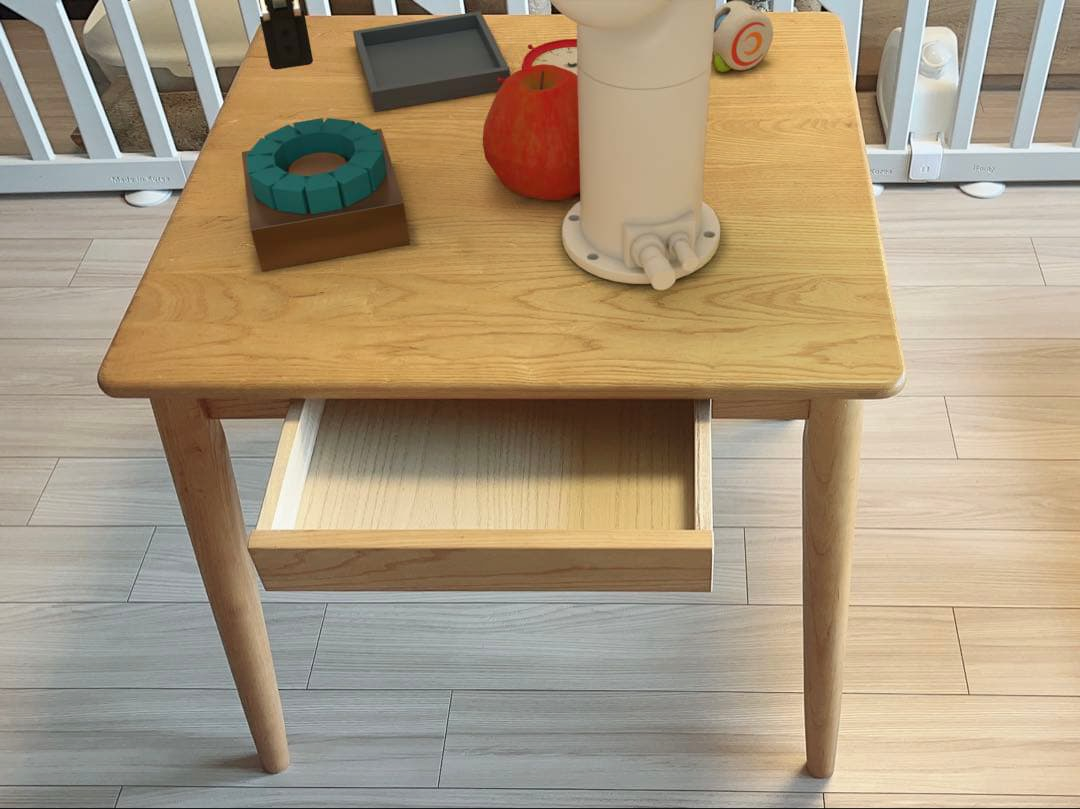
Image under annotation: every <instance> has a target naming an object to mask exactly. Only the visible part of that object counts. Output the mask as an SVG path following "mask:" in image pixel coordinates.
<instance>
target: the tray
mask: <svg viewBox="0 0 1080 809" xmlns="http://www.w3.org/2000/svg"><path fill="white" fill-rule="evenodd" d="M352 32H353V39H354V45H355V50H356V54H357V57H358V61H359V64H360V67H361V71H362V74H363V77H364V81H365V84H366V88H367V91H368V95H369V98H370V101H371V104H372V107H373V111H374V112H381V111H382V112H383V111H387V110H392V109H399V108H405V107H410V106H417V105H422V104H423V105H424V104H428V103H436V102H440V101H446V100H447V101H448V100H452V99H459V98H464V97H471V96H478V95H482V94H483V95H484V94H489V93H495V92H496V93H497V92H498V90H499V89H500V87H501V86H502V84H503V83H504V81H502V82H501V83H498V78H501V79H507V78H508V77H509V76H510V75H511V68H510V67H509V65H508V63H507V61H506V59H505V57H504V55H503V53H502V50H501V49H500V46H499V45H498V43H497V40H496V38H495V36H494V35H493V33H492V31H491V29H490V27H489V25H488V23H487V21H486V18H485V17H484V15H483V13H482V11H480V10H479V11H478V10H477V11H472V12H467V13H460V14H453V15H446V16H441V17H434V18H433V17H432V18H426V19H421V20H413V21H407V22H400V23H395V24H389V25H382V26H381V25H380V26H376V27H375V26H374V27H369V28H363V29H357V30H353V31H352Z"/></svg>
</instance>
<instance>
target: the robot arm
mask: <svg viewBox="0 0 1080 809" xmlns="http://www.w3.org/2000/svg"><path fill="white" fill-rule="evenodd" d="M549 2H550V3H551V4H552V5H553V6H554V7H555V9H556V10H557V11H559V13H560V14H562V15H563V16H565V17H566V18H568V19H569V20H571V21H572V22H575V23H576V39H577V80H578V120H579V160H580V193H579V194H580V196H579V197H580V198H579V199H580V200H579V201H577V202H576V203H574V204H573V205H572V207H571V208H570V209H569V210H568V211H567V213H566V214H565V216H564V218H563V220H562V226H561V240H562V241H561V242H562V245H563V248H564V251H565V253H566V254H567V256H568V257H569V259H570V260H572V261H573V263H574V264H576V265H577V266H578V267H580V268H581V269H582V270H584V271H586V272H588V273H589V274H592V275H594V276H596V277H599V278H601V279H605V280H607V281H612V282H616V283H622V284H630V285H650V284H651V286H652V287H653V289H655V290H657V291H665V290H668V289H670V288H671V287H673V285H675V283H676V281H677V279H678V280H679V279H680V278H683V277H685V276H688V275H690V274H692V273H694V272H696V271H698V270H699V269H701V268H703V267H704V266H705V265H706V264H707V263H708V262H710V261H711V260H712V258H713V257H714V256H715V254H716V253H717V252H718V248H719V245H720V241H721V240H720V239H721V238H720V237H721V224H720V223H721V222H720V220H719V218H718V215H717V214H716V212H715V210H713V208H712V207H711V206H710V205H709V204H708V203H707V202H705V201H704V200H703V198H704V184H705V183H704V182H705V167H706V151H707V134H708V120H709V105H710V88H711V71H712V70H711V69H712V61H713V55H712V52H713V37H714V23H715V11H716V10H717V0H549ZM258 3H259V4H258V5H259V8H260V12H261V16H259V22H260V26H261V30H262V34H263V39H264V44H265V48H266V53H267V57H268V63H269V66H270V68H271V69H272V70H283V69H289V68H295V67H296V68H297V67H303V66H309V65H312V63H313V61H314V58H313V53H312V48H311V42H310V36H309V31H308V25H307V20H306V16H305V10H304V9H303V10H301V0H258Z"/></svg>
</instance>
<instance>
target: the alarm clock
mask: <svg viewBox="0 0 1080 809" xmlns="http://www.w3.org/2000/svg"><path fill="white" fill-rule="evenodd" d="M527 49H528V50H529V51H528V52H527V53H526V54H525V56H524V58H523V59H522V63H521V70H522V69H524V68H527V67H531V66H535V65H541V64H547V65H554V66H557V67H560V68H563V69H566V70H569V71H571V72H573V73H575V74H576V75H577V38H566V39H564V38H563V39H557V40H556V39H555V40H552V41H548V42H545V43H542V44H539V45H538V46H536V47H534V46H533V44H531V43H530V44H527ZM505 80H506V79H501V78H498V83H501V82H502V81H505Z"/></svg>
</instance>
